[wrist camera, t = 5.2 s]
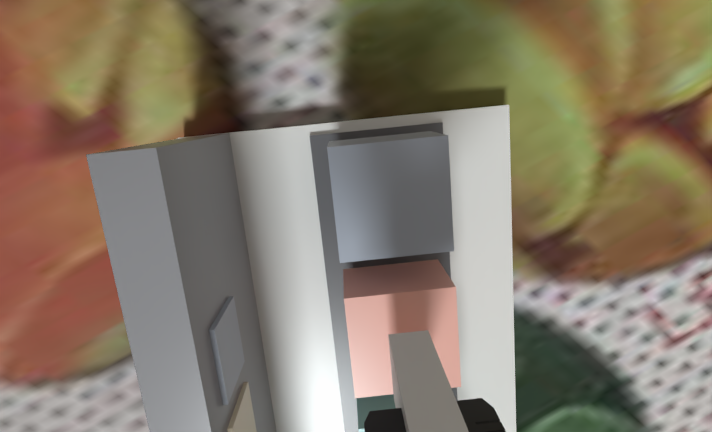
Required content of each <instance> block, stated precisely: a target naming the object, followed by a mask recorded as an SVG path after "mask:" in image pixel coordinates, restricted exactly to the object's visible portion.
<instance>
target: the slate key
mask: <svg viewBox="0 0 712 432" xmlns="http://www.w3.org/2000/svg"><path fill="white" fill-rule="evenodd" d="M327 152H328V161H329V170H330V179H331V188H332V197H333V206H334V215H335V224H336V233H337V242H338V251H339V260H340V263H345V262H355V261H365V260H374V259H384V258H393V257H403V256H412V255H422V254H432V253H441V252H451V251H454V237H453V218H452V199H451V179H450V160H449V140H448V135H445V134H441V133H436V132H432V131H426V132H416V133H407V134H397V135H387V136H377V137H367V138H357V139H347V140H337V141H329V143H328V146H327Z"/></svg>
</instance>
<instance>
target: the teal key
mask: <svg viewBox="0 0 712 432" xmlns="http://www.w3.org/2000/svg"><path fill="white" fill-rule="evenodd" d="M356 399H357V415H358V431H359V432H365V429H364V422H365V420H366V418H367V416H368V414H369V412H370V411H376V410H385V409H395V408H396V407H395V402H394V394H391V395H381V396H372V397H363V398H356Z"/></svg>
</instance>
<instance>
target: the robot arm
mask: <svg viewBox="0 0 712 432" xmlns="http://www.w3.org/2000/svg"><path fill="white" fill-rule="evenodd" d="M388 338H389V349H390V360H391V371H392V383H393V394H394V402H395V407H396V408H395V409H385V410H376V411H370V412H369V414H368V416H367V418H366V420H365V422H364V429H365V432H505V428H504V426H503V425H502V423H501V422H500V419H499V417H498V415H497V413H496V411H495V409H494V407H492V406H491V405H490V404H489V403H487V402H486V401H485V400H484V399H482V398H477V399H467V400H458V401H456V399H455V396H454V394H453V391H452V389H451V386H450V384H449V381H448V379H447V376H446V374H445V371H444V369H443V366H442V364H441V361H440V359H439V356H438V354H437V351H436V349H435V346H434V344H433V341H432V339H431V336H430V334H429V331H428V330H425V331H415V332H406V333H396V334H388Z"/></svg>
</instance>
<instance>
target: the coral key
mask: <svg viewBox="0 0 712 432" xmlns="http://www.w3.org/2000/svg"><path fill="white" fill-rule="evenodd" d="M343 285H344V305H345V314H346V323H347V332H348V341H349V350H350V359H351V368H352V377H353V386H354V395H355V398H363V397H372V396H381V395H391V394H393V383H392V371H391V360H390V349H389V338H388V334H396V333H406V332H415V331H425V330H428V331H429V334H430V336H431V339H432V341H433V344H434V346H435V349H436V351H437V354H438V356H439V359H440V361H441V364H442V366H443V369H444V371H445V374H446V376H447V379H448V381H449V384H450V386H451V388H455V387H461V373H460V354H459V334H458V315H457V295H456V286H455V285H454V283H453V282H452V280H451V279H450V277H449V276H448V274H447V273H446V271H445V270H444V268H443V266H442V265H441V263H440V262H439V260H438V259H436V260H427V261H417V262H407V263H398V264H388V265H379V266H369V267H360V268H350V269H343Z"/></svg>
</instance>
